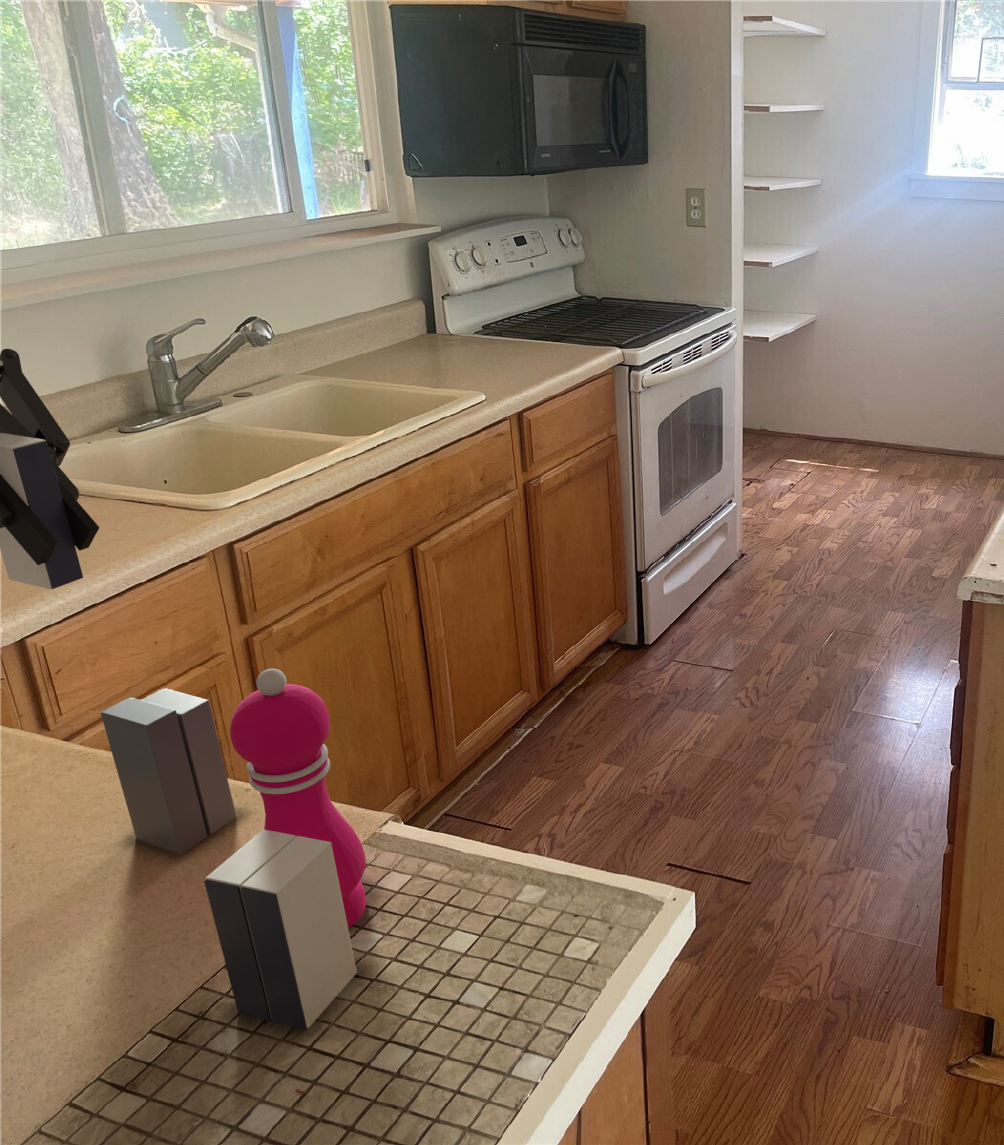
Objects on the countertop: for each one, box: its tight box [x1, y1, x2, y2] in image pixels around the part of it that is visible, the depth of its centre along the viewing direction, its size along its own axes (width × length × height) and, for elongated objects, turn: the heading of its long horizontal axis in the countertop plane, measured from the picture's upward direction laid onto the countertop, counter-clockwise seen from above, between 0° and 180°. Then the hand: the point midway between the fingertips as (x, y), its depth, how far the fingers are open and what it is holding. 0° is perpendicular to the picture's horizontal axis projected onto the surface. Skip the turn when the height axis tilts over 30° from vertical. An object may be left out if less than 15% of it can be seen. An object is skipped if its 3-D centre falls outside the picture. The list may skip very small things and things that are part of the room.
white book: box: [0, 433, 84, 590], centre depth 80 cm, size 2×5×11 cm, turn 66°
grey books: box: [100, 687, 237, 855], centre depth 84 cm, size 5×5×12 cm
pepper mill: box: [229, 668, 367, 929], centre depth 73 cm, size 7×7×20 cm
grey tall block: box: [203, 828, 358, 1031], centre depth 67 cm, size 5×5×11 cm
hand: (68, 545), depth 80 cm, fingers closed on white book, 2 cm apart
